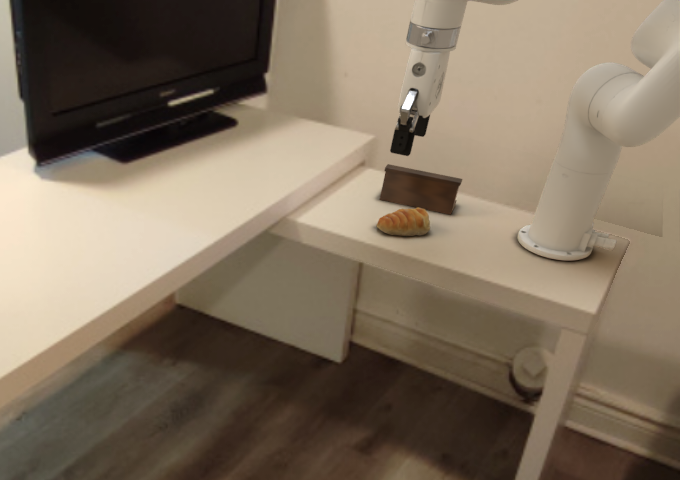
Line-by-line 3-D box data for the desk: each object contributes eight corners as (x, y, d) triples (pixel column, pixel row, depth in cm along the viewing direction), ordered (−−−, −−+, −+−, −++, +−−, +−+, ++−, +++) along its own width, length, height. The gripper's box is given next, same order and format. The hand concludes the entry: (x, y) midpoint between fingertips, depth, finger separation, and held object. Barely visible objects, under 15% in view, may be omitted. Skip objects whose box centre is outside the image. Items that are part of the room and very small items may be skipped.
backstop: (456, 206, 157) (465, 173, 153) (451, 215, 154) (460, 182, 150) (384, 190, 162) (391, 159, 158) (378, 199, 159) (385, 167, 155)
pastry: (385, 240, 146) (389, 221, 143) (369, 224, 151) (372, 205, 148) (431, 235, 147) (436, 216, 145) (413, 219, 152) (418, 200, 150)
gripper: (444, 53, 114) (417, 166, 125) (469, 26, 126) (442, 132, 136) (392, 45, 117) (370, 156, 127) (422, 20, 129) (399, 124, 139)
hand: (407, 144), depth 132 cm, fingers open, 9 cm apart
